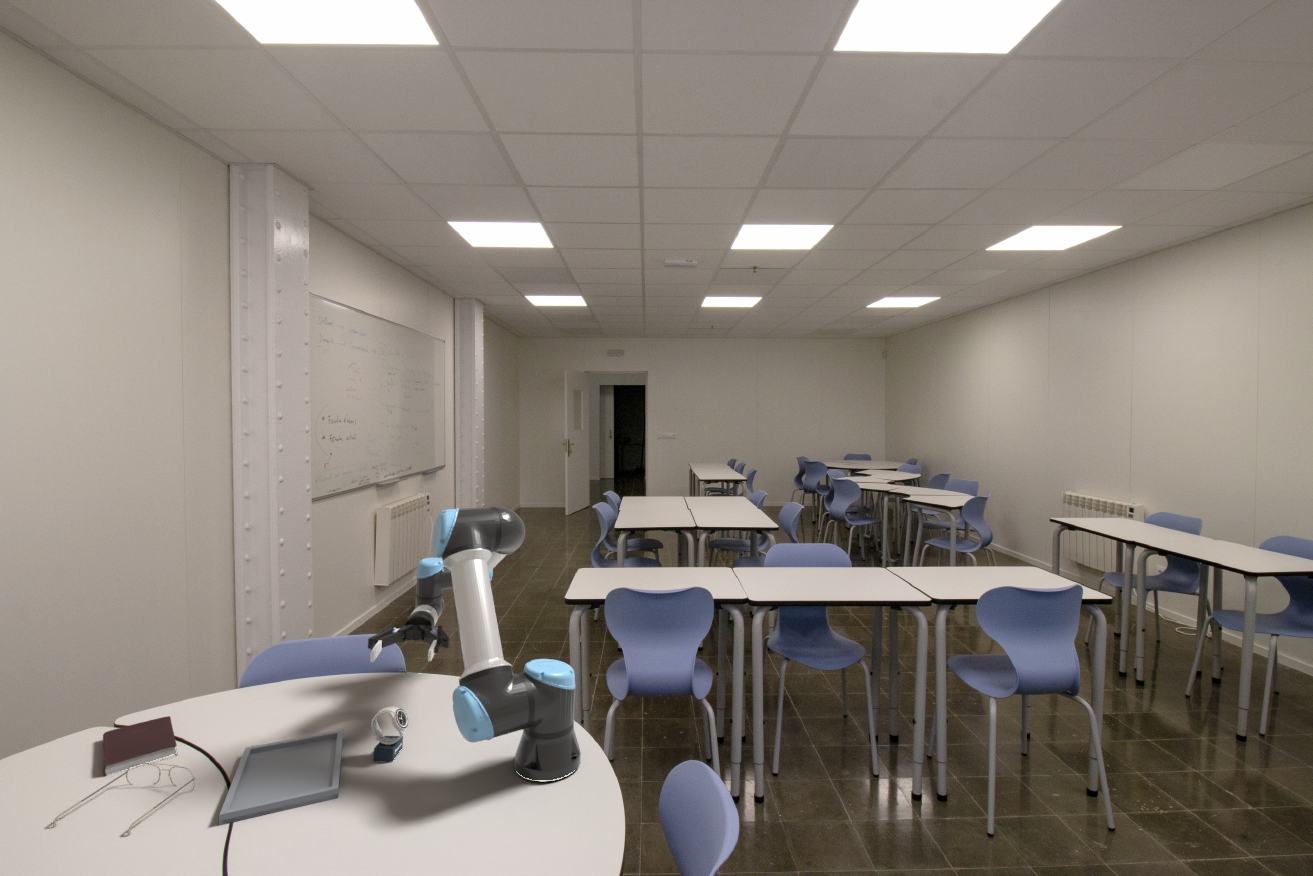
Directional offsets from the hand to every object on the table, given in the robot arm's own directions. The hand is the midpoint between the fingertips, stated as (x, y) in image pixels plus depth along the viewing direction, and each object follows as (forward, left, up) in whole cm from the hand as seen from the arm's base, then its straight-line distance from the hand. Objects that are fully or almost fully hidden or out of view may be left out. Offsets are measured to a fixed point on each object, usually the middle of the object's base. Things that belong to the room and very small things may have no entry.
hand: (401, 656), depth 142 cm
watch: (-7, +3, -21) cm, 22 cm away
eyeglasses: (-6, +50, -21) cm, 54 cm away
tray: (-7, +23, -20) cm, 31 cm away
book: (+20, +55, -21) cm, 62 cm away
